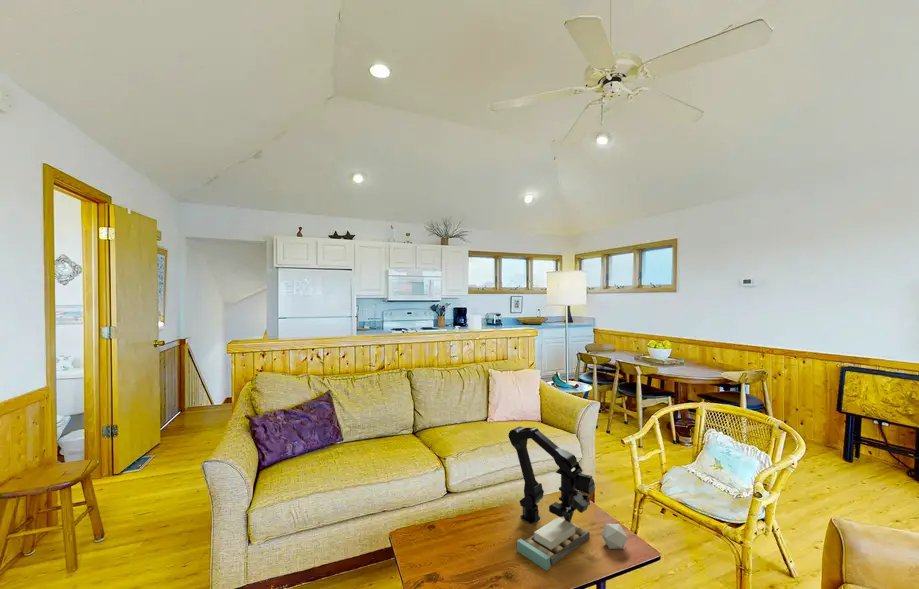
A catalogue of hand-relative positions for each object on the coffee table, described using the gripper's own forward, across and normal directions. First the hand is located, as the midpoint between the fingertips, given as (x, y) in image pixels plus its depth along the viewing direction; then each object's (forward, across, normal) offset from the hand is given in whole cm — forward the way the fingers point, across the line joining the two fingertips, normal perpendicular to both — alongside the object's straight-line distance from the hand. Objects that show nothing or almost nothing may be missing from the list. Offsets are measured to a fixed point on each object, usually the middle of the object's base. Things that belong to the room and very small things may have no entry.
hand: (568, 523), depth 158 cm
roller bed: (+4, -8, 0) cm, 9 cm away
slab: (+1, -9, 0) cm, 9 cm away
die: (+5, +7, -16) cm, 18 cm away
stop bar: (+4, -23, 0) cm, 23 cm away
